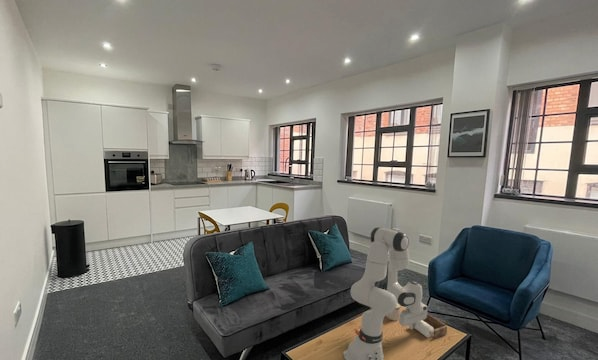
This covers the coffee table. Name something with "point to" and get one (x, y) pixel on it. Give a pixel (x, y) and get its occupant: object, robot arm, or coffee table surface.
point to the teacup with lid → (394, 314)
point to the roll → (424, 328)
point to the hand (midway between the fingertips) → (412, 328)
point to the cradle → (436, 326)
